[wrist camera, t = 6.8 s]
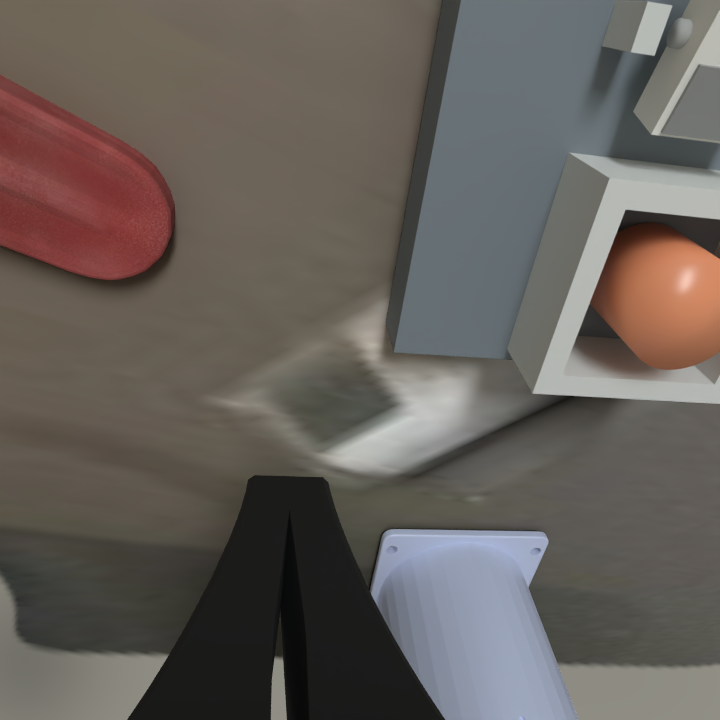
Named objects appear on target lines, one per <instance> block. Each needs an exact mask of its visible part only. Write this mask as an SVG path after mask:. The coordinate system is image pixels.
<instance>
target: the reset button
mask: <svg viewBox="0 0 720 720" xmlns="http://www.w3.org/2000/svg"><path fill="white" fill-rule="evenodd" d="M590 305H591V306H592V307H593V308H594V309H595V311H596V312H597V313H598V314H599V315H600V316H601V317H602V318H603V319H604V320H605V321H606V323H607V324H608V325H609V326H610V327H611V328H612V329H613V330H614V331H615V332H616V334H617V335H618V336H619V337H620V338H621V339H622V340H623V341H624V342H625V343H626V344H627V346H628V347H629V348H630V349H631V350H632V351H633V352H634V353H635V354H636V355H637V357H638V358H639V359H640V360H642V361H643V362H644V363H646V364H647V365H649V366H651V367H654V368H658V369H664V370H676V369H683V368H687V367H691V366H694V365H696V364H699V363H701V362H703V361H705V360H707V359H709V358H711V357H712V356H714V355H716V354H717V353H718V352H720V259H719V258H718V257H716V256H714V255H713V254H711V253H710V252H708V251H707V250H705V249H704V248H702V247H701V246H699V245H698V244H696V243H695V242H693V241H691V240H690V239H688V238H687V237H685V236H684V235H682V234H681V233H679V232H678V231H676V230H675V229H673V228H671V227H669V226H667V225H664V224H660V223H642V224H637V225H634V226H631V227H628V228H626V229H624V230H622V231H620V232H618V233H617V234H616V236H615V238H614V241H613V244H612V246H611V249H610V251H609V254H608V257H607V259H606V262H605V265H604V267H603V270H602V272H601V275H600V278H599V280H598V283H597V285H596V288H595V291H594V293H593V296H592V298H591V301H590Z"/></svg>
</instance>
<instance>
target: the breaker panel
mask: <svg viewBox="0 0 720 720" xmlns="http://www.w3.org/2000/svg"><path fill="white" fill-rule="evenodd" d="M689 2H690V0H443V2H442V7H441V13H440V19H439V24H438V30H437V36H436V41H435V47H434V53H433V58H432V64H431V70H430V75H429V81H428V87H427V92H426V98H425V104H424V109H423V115H422V121H421V126H420V132H419V138H418V143H417V149H416V155H415V160H414V166H413V172H412V177H411V183H410V189H409V194H408V200H407V206H406V211H405V217H404V223H403V228H402V234H401V240H400V245H399V251H398V257H397V262H396V268H395V274H394V279H393V285H392V291H391V296H390V302H389V308H388V313H387V319H386V325H387V329H388V332H389V336H390V340H391V344H392V347H393V351H394V352H395V353H411V354H427V355H443V356H459V357H475V358H491V359H507V360H513V361H514V362H515V364H516V366H517V368H518V369H519V371H520V373H521V375H522V376H523V378H524V380H525V381H526V383H527V385H528V387H529V388H530V390H531V392H532V394H549V395H568V396H586V397H605V398H624V399H642V400H661V401H680V402H698V403H717V404H720V352H718V353H717V354H716V355H714V356H712V357H711V358H709V359H707V360H705V361H703V362H701V363H699V364H696V365H694V366H691V367H687V368H683V369H676V370H664V369H658V368H654V367H651V366H649V365H647V364H646V363H644V362H643V361H642V360H640V359H639V358H638V357H637V355H636V354H635V353H634V352H633V351H632V350H631V349H630V348H629V347H628V346H627V344H626V343H625V342H624V341H623V340H622V339H621V338H620V337H619V336H618V335H617V334H616V332H615V331H614V330H613V329H612V328H611V327H610V326H609V325H608V324H607V323H606V321H605V320H604V319H603V318H602V317H601V316H600V315H599V314H598V313H597V312H596V311H595V309H594V308H593V307H592V306H591V305H590V301H591V298H592V296H593V293H594V291H595V288H596V285H597V283H598V280H599V278H600V275H601V272H602V270H603V267H604V265H605V262H606V259H607V257H608V254H609V251H610V249H611V246H612V244H613V241H614V238H615V236H616V234H617V233H618V232H620V231H622V230H624V229H626V228H628V227H631V226H634V225H637V224H642V223H660V224H664V225H667V226H669V227H671V228H673V229H675V230H676V231H678V232H679V233H681V234H682V235H684V236H685V237H687V238H688V239H690V240H691V241H693V242H695V243H696V244H698V245H699V246H701V247H702V248H704V249H705V250H707V251H708V252H710V253H711V254H713V255H714V256H716V257H718V258H719V259H720V143H713V142H705V141H697V140H689V139H682V138H674V137H666V136H658V135H651V134H650V133H649V131H648V130H647V129H646V128H645V126H644V125H643V124H642V122H641V121H640V120H639V118H638V117H637V116H636V115H635V113H634V112H633V111H634V109H635V107H636V105H637V103H638V101H639V99H640V97H641V95H642V93H643V91H644V89H645V87H646V85H647V83H648V82H649V80H650V78H651V76H652V74H653V72H654V70H655V68H656V66H657V64H658V62H659V60H660V58H661V56H662V54H663V52H664V50H665V48H666V46H667V42H666V40H667V35H668V32H669V29H670V27H671V25H672V24H673V23H674V21H675V20H677V19H678V18H681V17H682V15H683V13H684V11H685V9H686V7H687V5H688V3H689Z"/></svg>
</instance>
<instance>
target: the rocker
mask: <svg viewBox="0 0 720 720" xmlns="http://www.w3.org/2000/svg"><path fill="white" fill-rule="evenodd" d="M666 42H667V46H666V48H665V50H664V52H663V54H662V56H661V58H660V60H659V62H658V64H657V66H656V68H655V70H654V72H653V74H652V76H651V78H650V80H649V82H648V83H647V85H646V87H645V89H644V91H643V93H642V95H641V97H640V99H639V101H638V103H637V105H636V107H635V109H634V111H633V112H634V113H635V115H636V116H637V117H638V118H639V120H640V121H641V122H642V124H643V125H644V126H645V128H646V129H647V130H648V131H649V133H650V134H651V135H658V136H666V137H674V138H682V139H689V140H697V141H705V142H713V143H720V0H690V2H689V3H688V5H687V7H686V9H685V11H684V13H683V15H682V17H681V18H678V19H677V20H675V21H674V23H673V24H672V25H671V27H670V29H669V32H668V35H667V40H666Z"/></svg>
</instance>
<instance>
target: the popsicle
mask: <svg viewBox="0 0 720 720" xmlns="http://www.w3.org/2000/svg"><path fill="white" fill-rule="evenodd" d="M174 220H175V204H174V201H173V198H172V194H171V191H170V189H169V187H168V185H167V183H166V181H165V179H164V178H163V176H162V175H161V173H160V172H159V170H158V169H157V168H156V166H155V165H154V164H153V163H152V162H150V161H149V160H148V159H147V158H146V157H145V156H144V155H143V154H141V153H140V152H138V151H137V150H135V149H134V148H132V147H131V146H129V145H128V144H126V143H125V142H123V141H121V140H120V139H118V138H116V137H114V136H112V135H110V134H108V133H107V132H105V131H103V130H101V129H99V128H97V127H96V126H94V125H92V124H90V123H88V122H86V121H85V120H83V119H81V118H79V117H77V116H75V115H74V114H72V113H70V112H68V111H66V110H64V109H62V108H61V107H59V106H57V105H55V104H53V103H51V102H49V101H48V100H46V99H44V98H42V97H40V96H38V95H36V94H35V93H33V92H31V91H29V90H27V89H25V88H23V87H22V86H20V85H18V84H16V83H14V82H12V81H10V80H9V79H7V78H5V77H3V76H1V75H0V245H1V246H4V247H6V248H9V249H12V250H14V251H17V252H19V253H22V254H25V255H27V256H30V257H33V258H35V259H38V260H41V261H43V262H46V263H49V264H51V265H54V266H56V267H59V268H62V269H64V270H67V271H70V272H73V273H76V274H80V275H83V276H87V277H91V278H97V279H104V280H116V279H124V278H128V277H132V276H135V275H138V274H140V273H142V272H144V271H147V270H148V269H149V268H150V267H151V266H152V265H153V264H154V263H155V262H156V261H157V260H158V259H159V258H161V257H162V255H163V253H164V251H165V249H166V247H167V244H168V242H169V239H170V237H171V234H172V232H173V229H174Z"/></svg>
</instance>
